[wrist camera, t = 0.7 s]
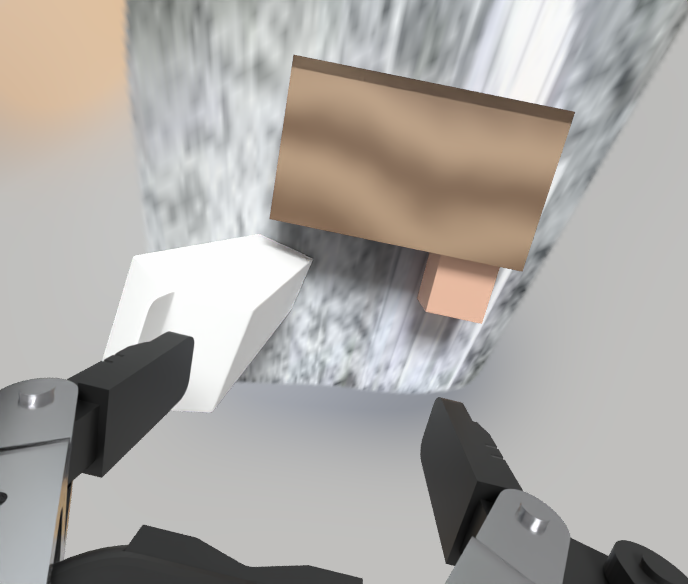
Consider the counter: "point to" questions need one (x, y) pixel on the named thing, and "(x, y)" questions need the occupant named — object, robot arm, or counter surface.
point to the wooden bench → (415, 162)
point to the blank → (457, 287)
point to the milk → (210, 307)
